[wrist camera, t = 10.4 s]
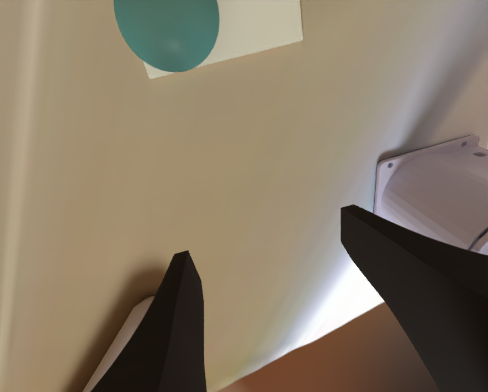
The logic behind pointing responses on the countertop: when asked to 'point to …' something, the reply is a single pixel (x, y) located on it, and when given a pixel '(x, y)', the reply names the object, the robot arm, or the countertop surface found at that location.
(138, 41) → the marker
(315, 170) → the countertop surface
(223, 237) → the countertop surface
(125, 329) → the tube
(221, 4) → the notepad
